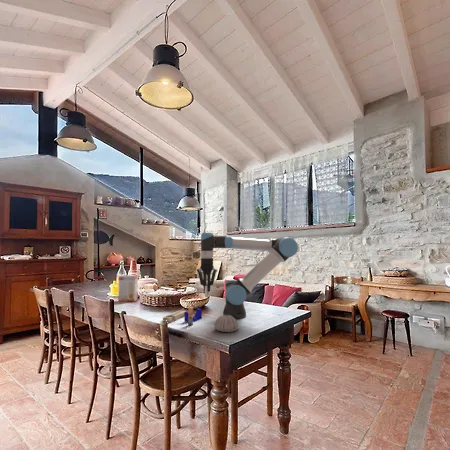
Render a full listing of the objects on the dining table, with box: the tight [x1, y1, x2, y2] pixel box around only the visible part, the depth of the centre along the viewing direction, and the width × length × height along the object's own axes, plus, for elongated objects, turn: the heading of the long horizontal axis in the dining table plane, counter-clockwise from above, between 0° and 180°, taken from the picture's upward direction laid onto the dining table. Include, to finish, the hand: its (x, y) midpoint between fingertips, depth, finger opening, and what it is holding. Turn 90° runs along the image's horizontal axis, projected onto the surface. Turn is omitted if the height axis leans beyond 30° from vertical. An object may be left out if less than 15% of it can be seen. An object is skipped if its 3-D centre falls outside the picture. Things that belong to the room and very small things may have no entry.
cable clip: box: [184, 308, 203, 323], centre depth 180 cm, size 12×4×6 cm, turn 142°
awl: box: [187, 306, 194, 327], centre depth 170 cm, size 3×3×10 cm
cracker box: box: [118, 274, 139, 302], centre depth 243 cm, size 14×6×21 cm, turn 82°
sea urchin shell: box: [214, 314, 239, 333], centre depth 160 cm, size 13×14×8 cm
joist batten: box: [162, 309, 187, 324], centre depth 183 cm, size 5×20×3 cm, turn 159°
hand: (206, 296), depth 178 cm, fingers closed
